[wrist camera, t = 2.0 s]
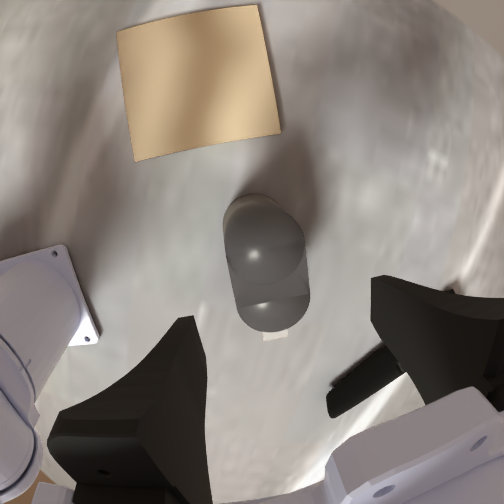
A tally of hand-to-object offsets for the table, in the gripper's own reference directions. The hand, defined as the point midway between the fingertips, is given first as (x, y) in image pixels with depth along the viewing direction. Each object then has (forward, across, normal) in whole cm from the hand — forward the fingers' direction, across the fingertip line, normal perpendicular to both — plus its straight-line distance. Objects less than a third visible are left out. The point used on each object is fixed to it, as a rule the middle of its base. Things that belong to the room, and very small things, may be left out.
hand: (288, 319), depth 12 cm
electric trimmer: (+10, -11, +12) cm, 19 cm away
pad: (+9, +2, -12) cm, 15 cm away
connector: (+10, 0, 0) cm, 10 cm away
